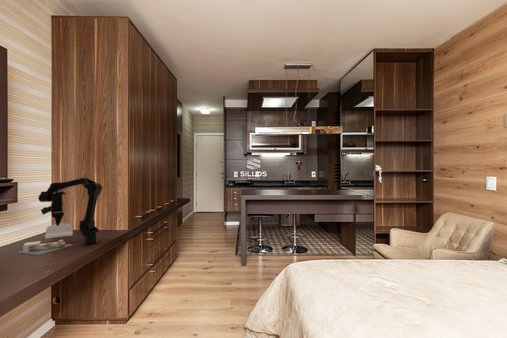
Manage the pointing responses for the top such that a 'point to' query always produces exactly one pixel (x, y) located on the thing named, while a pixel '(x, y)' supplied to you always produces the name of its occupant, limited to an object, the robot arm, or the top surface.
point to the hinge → (59, 230)
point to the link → (49, 245)
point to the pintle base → (30, 251)
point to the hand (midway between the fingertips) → (57, 225)
